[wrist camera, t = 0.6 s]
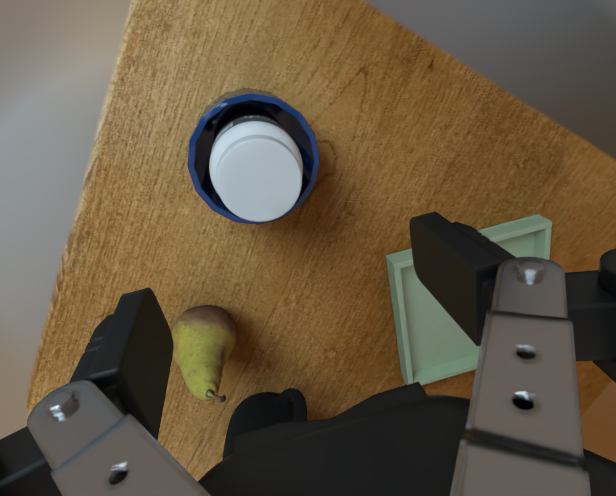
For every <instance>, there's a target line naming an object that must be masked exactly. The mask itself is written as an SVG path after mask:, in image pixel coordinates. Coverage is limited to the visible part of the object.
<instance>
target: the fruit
mask: <svg viewBox="0 0 616 496" xmlns="http://www.w3.org/2000/svg"><path fill="white" fill-rule="evenodd" d="M172 337H173V343H174V350H173V356H172V357H173V359H174V360H175V362H176V363H177V364H178V365H179V366H180V368H181V371H182V374H183V377H184V380H185V382H186V384H187V387H188V389H189V390H190V392H191V393H192V394H193V395H194V396H195V397H196V398H197V399H199V400H202V401H210V400H212V399H214V398H215V399H216V400H217V401H218V402H224V401H225V400H226V397H225V395H223V396H218V395H217V393H218V390H219V386H220V382H221V376H222V370H223V365H224V363H225V362H226V360H227V359H228V358H229V356H230V355H231V353H232V351H233V349H234V348H235V345H236V342H237V337H238V330H237V326H236V324H235V322H234V320H233V318H232V317H231V316H230V314H229V313H228V312H227V311H226V310H224V309H223V308H221V307H218V306H212V305H203V306H197V307H193V308H190V309H188V310H186V311H185V312H183V313H182V315H181V316H180V317H179V318H178V320H177V322H176V324H175V326H174V328H173V330H172Z"/></svg>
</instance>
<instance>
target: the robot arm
mask: <svg viewBox="0 0 616 496" xmlns="http://www.w3.org/2000/svg"><path fill="white" fill-rule="evenodd" d="M410 236H411V246H412V256H413V265H414V269H415V272H416V275H417V277H418V279H419V280H420V282H421V283H422V284H423V285H424V286H425V287H426V289H427V290H428V291H429V292H430V293H431V294H432V295H433V297H434V298H435V299H436V300H437V301H438V302H439V304H440V305H441V306H442V307H443V308H444V309H445V310H446V312H447V313H448V314H449V315H450V316H451V317H452V318H453V320H454V321H455V322H456V323H457V324H458V325H459V326H460V328H461V329H462V330H463V331H464V332H465V333H466V334H467V336H468V337H469V338H470V339H471V340H472V341H473V342H474V344H475V345H476V346H477V347H478V346H480V351H479V357H478V362H477V368H476V373H475V379H474V384H473V390H472V395H471V400H469V399H465V398H461V397H456V396H448V395H427V394H426V393H425V391H424V389H423V387H422V386H421V384H420V382H419V381H418V382H415V383H412V384H408V385H405V386H402V387H398V388H395V389H392V390H388V391H385V392H382V393H378V394H375V395H373V396H371V397H369V398H368V399H366V400H364V401H362V402H360V403H359V404H357V405H355V406H353V407H351V408H350V409H348V410H346V411H344V412H342V413H341V414H339V415H337V416H335V417H333V418H330V419H325V420H312V421H299V422H286V423H278V424H275V425H271V426H268V427H265V428H261V429H258V430H255V431H251V432H248V433H245V434H241V435H238V436H235V437H233V451H234V454H232V455H230V456H229V457H227V458H225V459H224V460H222V461H221V462H220V463H218V464H217V465H216V466H214V467H213V468H212V469H211V470H210V471H208V472H207V473H206V474H205V475H204V476H203V477H202V478H201V479H200V480H199V481H198V482H197V481H196V480H195V479H194V478H193V477H192V476H191V475H190V474H189V473H188V472H187V471H186V470H185V469H184V468H183V467H182V466H181V465H180V464H179V463H178V461H177V460H176V459H175V458H174V457H173V456H172V455H171V454H170V453H169V452H168V451H167V450H166V449H165V448H164V447H163V446H162V445H161V444H160V443H159V442H158V441H157V439H158V433H159V428H160V422H161V417H162V411H163V406H164V400H165V395H166V389H167V384H168V378H169V372H170V367H171V361H172V356H173V350H174V343H173V337H172V333H171V330H170V328H169V326H168V323H167V321H166V319H165V317H164V314H163V312H162V310H161V308H160V305H159V303H158V301H157V299H156V296H155V294H154V293H153V291H152V290H151V289H150V288H145V289H141V290H138V291H134V292H130V293H126V294H123V295H122V296H121V298H120V300H119V303H118V305H117V307H116V309H115V312H114V314H111V315H108V316H107V317H106V318H105V319H104V320H103V321H102V322H101V323H100V324H99V325H98V326H97V327H96V328H95V330H94V332H93V334H92V336H91V339H90V343H88V345H87V347H86V349H85V353H83V355H82V357H81V359H80V361H79V363H78V365H77V367H76V369H75V372H74V374H73V376H72V378H71V380H70V382H69V383H68V384H66V385H63V386H61V387H59V388H57V389H56V390H54V391H52V392H51V393H50V394H48V395H47V396H46V397H44V398H43V399H42V400H41V401H40V402H39V403H38V404H37V405H36V406H35V407H34V408H33V410H32V411H31V413H30V415H29V417H28V420H27V426H26V427H25V428H23V429H21V430H19V431H17V432H15V433H13V434H11V435H9V436H7V437H5V438H3V439H1V440H0V496H616V463H615V462H613V461H611V460H608V459H606V458H604V457H601V456H599V455H597V454H595V453H593V452H590V451H588V450H586V449H584V448H583V444H582V430H581V418H580V406H579V394H578V381H577V369H576V361H593V362H594V363H595V364H596V365H597V366H598V367H599V368H600V369H601V370H602V371H603V372H605V373H606V374H607V375H608V376H609V377H610V378H611V379H612V380H613V381H614V382H616V249H613V250H610V251H608V252H605V253H604V254H603V255H602V256H601V258H600V264H599V270H595V271H583V272H569V273H564V270H563V268H562V267H561V266H560V265H558V264H557V263H555V262H553V261H550V260H547V259H543V258H538V257H517V258H516V257H515V256H514V255H512V254H511V253H509V252H508V251H506V250H505V249H503V248H502V247H500V246H499V245H497V244H496V243H495V242H493V241H490V239H489V238H487V237H486V236H484V235H482V234H481V233H480V232H478V231H477V230H476V229H474V228H473V227H471V226H468V225H464V224H461V223H457V222H454V223H451V222H449V221H448V220H447V219H445V218H444V217H442V216H441V215H440V214H438V213H437V212H431V213H427V214H424V215H420V216H416V217H412V218H411V219H410Z"/></svg>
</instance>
